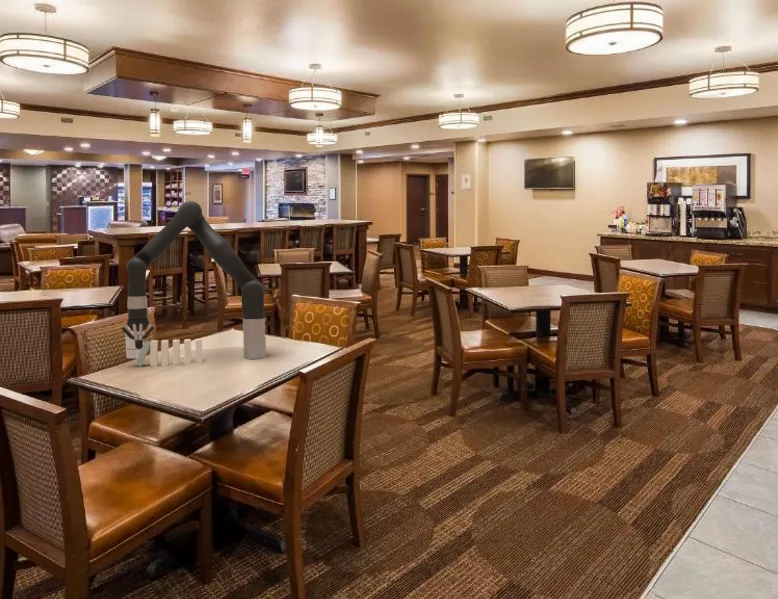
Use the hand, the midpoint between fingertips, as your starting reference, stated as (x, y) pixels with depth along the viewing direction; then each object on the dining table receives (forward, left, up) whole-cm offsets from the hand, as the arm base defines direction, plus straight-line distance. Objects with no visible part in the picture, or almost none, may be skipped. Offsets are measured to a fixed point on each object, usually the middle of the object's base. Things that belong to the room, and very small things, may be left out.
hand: (139, 349), depth 244 cm
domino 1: (0, 0, -6) cm, 7 cm away
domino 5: (-19, 0, -7) cm, 20 cm away
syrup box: (+4, -17, -7) cm, 18 cm away
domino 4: (-14, 0, -7) cm, 16 cm away
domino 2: (-5, 0, -7) cm, 9 cm away
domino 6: (-23, 0, -7) cm, 25 cm away
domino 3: (-10, 0, -7) cm, 12 cm away
